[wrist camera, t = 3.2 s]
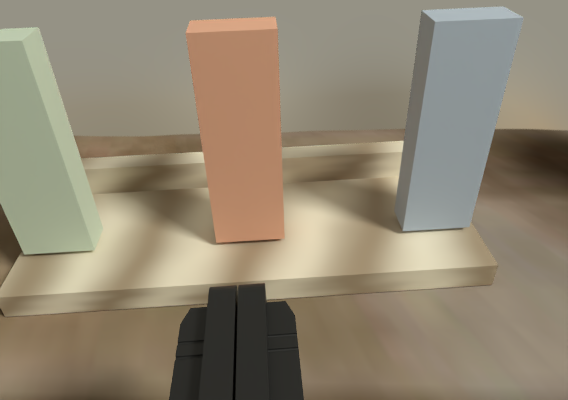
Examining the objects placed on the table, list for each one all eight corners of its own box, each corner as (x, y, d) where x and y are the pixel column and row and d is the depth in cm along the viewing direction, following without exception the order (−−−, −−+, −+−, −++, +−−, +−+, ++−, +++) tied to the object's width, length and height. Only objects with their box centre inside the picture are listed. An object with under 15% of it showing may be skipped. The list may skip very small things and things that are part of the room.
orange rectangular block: (216, 242, 28) (185, 33, 21) (217, 221, 29) (190, 20, 22) (284, 238, 28) (277, 28, 21) (282, 217, 29) (275, 16, 22)
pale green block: (24, 254, 27) (-74, 44, 20) (36, 232, 29) (-50, 31, 22) (94, 250, 27) (21, 40, 20) (103, 228, 29) (38, 27, 22)
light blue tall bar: (402, 231, 28) (435, 21, 21) (394, 211, 30) (421, 10, 23) (469, 227, 28) (523, 17, 21) (457, 207, 30) (503, 6, 23)
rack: (5, 316, 26) (-21, 270, 24) (71, 192, 35) (57, 151, 33) (491, 284, 27) (507, 237, 25) (426, 171, 36) (433, 131, 34)
